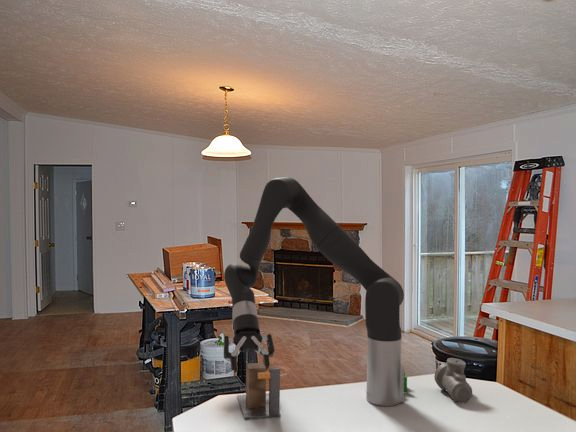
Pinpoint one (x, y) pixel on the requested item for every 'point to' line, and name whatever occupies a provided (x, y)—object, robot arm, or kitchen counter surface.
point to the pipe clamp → (405, 383)
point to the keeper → (271, 398)
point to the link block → (255, 385)
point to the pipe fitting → (453, 379)
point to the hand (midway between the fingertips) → (251, 370)
